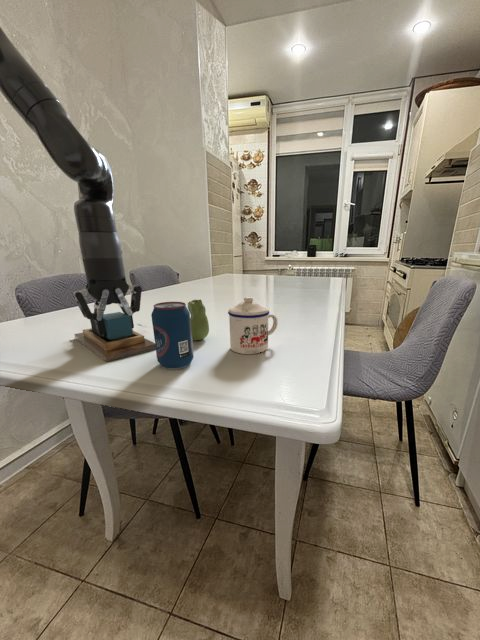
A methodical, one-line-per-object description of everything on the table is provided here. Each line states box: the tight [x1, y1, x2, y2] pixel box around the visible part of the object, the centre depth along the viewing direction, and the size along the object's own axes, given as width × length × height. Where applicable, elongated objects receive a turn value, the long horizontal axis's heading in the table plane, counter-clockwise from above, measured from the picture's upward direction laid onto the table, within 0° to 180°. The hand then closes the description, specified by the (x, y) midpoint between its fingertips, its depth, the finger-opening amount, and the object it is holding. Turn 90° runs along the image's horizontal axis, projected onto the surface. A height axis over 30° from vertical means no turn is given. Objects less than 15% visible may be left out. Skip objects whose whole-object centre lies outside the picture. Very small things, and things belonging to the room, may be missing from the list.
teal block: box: [103, 311, 134, 340], centre depth 66 cm, size 5×6×4 cm
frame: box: [74, 327, 156, 363], centre depth 69 cm, size 11×22×3 cm, turn 46°
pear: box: [187, 299, 210, 341], centre depth 71 cm, size 6×5×10 cm
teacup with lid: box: [227, 296, 279, 355], centre depth 65 cm, size 12×9×12 cm
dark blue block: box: [89, 319, 109, 340], centre depth 71 cm, size 5×6×4 cm
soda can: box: [150, 301, 194, 371], centre depth 56 cm, size 7×7×12 cm
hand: (116, 333), depth 67 cm, fingers closed on teal block, 5 cm apart
